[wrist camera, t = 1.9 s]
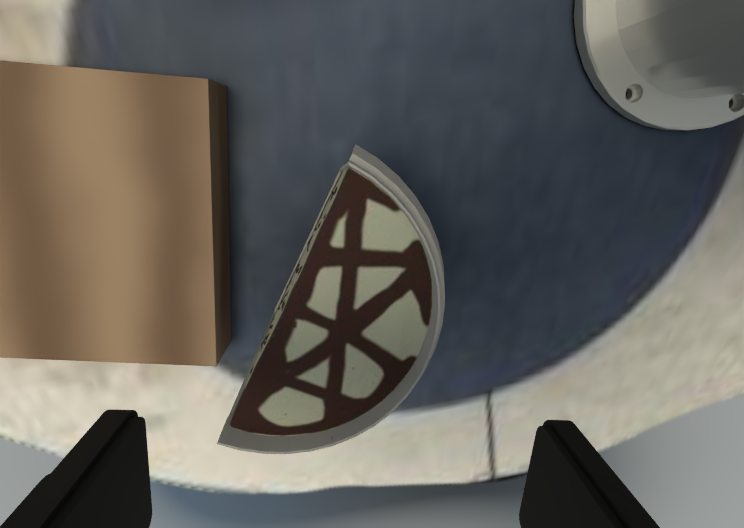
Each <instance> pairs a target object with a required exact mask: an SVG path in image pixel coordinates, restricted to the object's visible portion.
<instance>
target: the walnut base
mask: <svg viewBox="0 0 744 528" xmlns="http://www.w3.org/2000/svg"><path fill="white" fill-rule="evenodd" d="M230 342H231V294H230V238H229V181H228V125H227V86H224V85H222V84H219V83H217V82H214V81H212V80H209V79H203V78H191V77H180V76H168V75H157V74H146V73H134V72H123V71H112V70H100V69H89V68H78V67H66V66H55V65H43V64H32V63H21V62H9V61H0V357H2V358H26V359H50V360H75V361H99V362H124V363H148V364H172V365H197V366H217V364H218V363H219V361H220V359H221V357H222V356H223V354H224V352H225V350H226V349H227V347H228V345H229V343H230Z"/></svg>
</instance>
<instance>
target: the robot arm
mask: <svg viewBox="0 0 744 528" xmlns="http://www.w3.org/2000/svg"><path fill="white" fill-rule="evenodd" d="M574 24H575V33H576V42H577V47H578V50H579V53H580V57H581V60H582V64H583V67H584V69H585V71H586V73H587V75H588V77H589V79H590V80H591V82H592V84H593V86H594V88H595V89H596V90H597V92H598V93H599V94H600V95H601V96H602V98H603V99H604V100H605V101H606V102H607V103H608V105H610V106H611V107H612V108H614V109H615V110H616V111H617V112H619V113H620V114H621V115H623V116H624V117H625V118H628V119H630V120H632V121H634V122H637V123H639V124H641V125H643V126H647V127H652V128H657V129H662V130H694V129H703V128H710V127H714V126H717V125H720V124H723V123H726V122H729V121H732V120H735V119H736V118H738V117H740V116H742V115H744V0H575V8H574ZM626 92H627V96H626ZM151 518H152V503H151V490H150V477H149V464H148V451H147V438H146V425H145V419H144V418H143V417H138V414H137V412H136V411H134V410H107V411H105V412H104V413H103V414H102V415H101V416H100V418H99V419H98V420H97V421H96V422H95V423H94V425H93V426H92V427H91V428H90V429H89V430H88V431H87V433H86V434H85V435H84V436H83V437H82V438H81V439H80V441H79V442H78V443H77V444H76V445H75V446H74V447H73V449H72V450H71V451H70V452H69V453H68V454H67V455H66V457H65V458H64V459H63V460H62V461H61V462H60V463H59V465H58V466H57V467H56V468H55V469H54V470H53V472H52V473H51V474H48V475H47V476H45V477H44V478H43V479H42V480H41V481H40V482H39V483H38V484H37V485H36V487H35V488H34V489H33V490H32V491H31V492H30V493H29V495H28V496H27V497H26V498H25V499H24V500H23V501H22V502H21V504H20V505H19V506H18V507H17V508H16V509H15V510H14V512H13V513H12V514H11V515H10V516H9V517H8V518H7V519H6V521H5V522H4V523H3V524H2V525H1V526H0V528H149V526H150V522H151ZM519 520H520V525H521V528H660V527H659V526H658V525H657V524H656V522H655V521H654V520H653V519H652V518H651V516H650V515H649V514H648V513H647V512H646V510H645V509H644V508H643V507H642V506H641V504H640V503H639V502H638V501H637V499H636V498H635V497H634V496H633V495H632V493H631V492H630V491H629V490H628V489H627V487H626V486H625V485H624V484H623V482H622V481H621V480H620V479H619V478H618V476H617V475H616V474H615V473H614V471H613V470H612V469H611V468H610V467H609V466H608V464H607V463H606V462H605V461H604V459H603V458H602V457H601V456H600V455H599V453H598V452H597V451H596V450H595V448H594V447H593V446H592V445H591V444H590V442H589V441H588V440H587V439H586V438H585V436H584V435H583V434H582V433H581V431H580V430H579V429H578V428H577V427H576V425H575V424H574V423H573V422H572V421H568V420H547V421H545V422H544V424H543V426H539V427H538V428H537V431H536V436H535V441H534V446H533V450H532V455H531V460H530V465H529V469H528V474H527V479H526V484H525V488H524V493H523V498H522V503H521V507H520V513H519Z"/></svg>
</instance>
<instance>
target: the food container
mask: <svg viewBox="0 0 744 528" xmlns="http://www.w3.org/2000/svg"><path fill="white" fill-rule="evenodd" d="M444 308H445V283H444V265H443V260H442V256H441V251H440V247H439V242H438V239H437V237H436V234H435V232H434V229H433V227H432V224H431V222H430V219H429V217H428V216H427V214H426V212H425V211H424V209H423V207H422V206H421V204H420V202H419V201H418V199H417V197H416V196H415V195H414V194H413V192H412V191H411V190H410V189H409V188H408V187H407V185H406V184H405V183H404V182H403V181H402V179H401V178H400V177H399V176H398V175H397V174H396V173H395V172H393V171H392V170H391V169H390V168H389V167H388V166H386V165H385V164H384V163H383V162H382V161H381V160H379V159H378V158H377V157H375V156H374V155H372V154H370V153H369V152H367V151H366V150H364V149H362V148H361V147H359V146H357V145H355V147H354V149H353V152H352V155H351V158H350V160H349V161H348V162H347V163H346V164H344V165H343V166H342V167H341V168H340V171H339V173H338V175H337V177H336V179H335V181H334V183H333V186H332V188H331V190H330V192H329V194H328V196H327V199H326V201H325V203H324V205H323V207H322V209H321V211H320V214H319V216H318V218H317V220H316V222H315V224H314V226H313V229H312V231H311V233H310V235H309V237H308V239H307V241H306V244H305V246H304V248H303V250H302V252H301V254H300V256H299V259H298V261H297V263H296V265H295V267H294V269H293V271H292V274H291V276H290V278H289V280H288V282H287V284H286V286H285V289H284V291H283V293H282V295H281V297H280V299H279V301H278V304H277V306H276V308H275V310H274V312H273V314H272V317H271V319H270V321H269V324H268V326H267V328H266V331H265V333H264V335H263V338H262V340H261V342H260V345H259V347H258V349H257V352H256V354H255V356H254V359H253V361H252V363H251V366H250V368H249V370H248V372H247V375H246V377H245V379H244V382H243V384H242V386H241V389H240V391H239V393H238V396H237V398H236V400H235V403H234V405H233V407H232V410H231V412H230V414H229V417H228V418H227V420H226V423H225V425H224V427H223V430H222V432H221V435H220V438H219V440H218V442H217V444H219V445H223V446H226V447H230V448H234V449H237V450H242V451H249V452H256V453H263V454H291V453H300V452H309V451H313V450H318V449H322V448H326V447H330V446H333V445H336V444H338V443H341V442H343V441H346V440H349V439H351V438H354V437H356V436H357V435H359V434H361V433H363V432H364V431H366V430H368V429H370V428H371V427H373V426H375V425H376V424H377V423H379V422H380V421H381V420H383V419H384V418H385V417H386V416H388V415H389V414H390V413H392V412H393V411H394V410H395V409H396V408H397V407H398V406H399V405H400V403H401V402H402V401H403V400H404V399H405V398H406V397H407V396H408V395H409V394H410V392H411V391H412V389H413V388H414V386H415V385H416V384H417V382H418V381H419V379H420V378H421V376H422V374H423V373H424V371H425V370H426V368H427V366H428V364H429V362H430V359H431V357H432V355H433V353H434V351H435V349H436V346H437V342H438V339H439V336H440V332H441V329H442V323H443V316H444Z"/></svg>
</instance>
